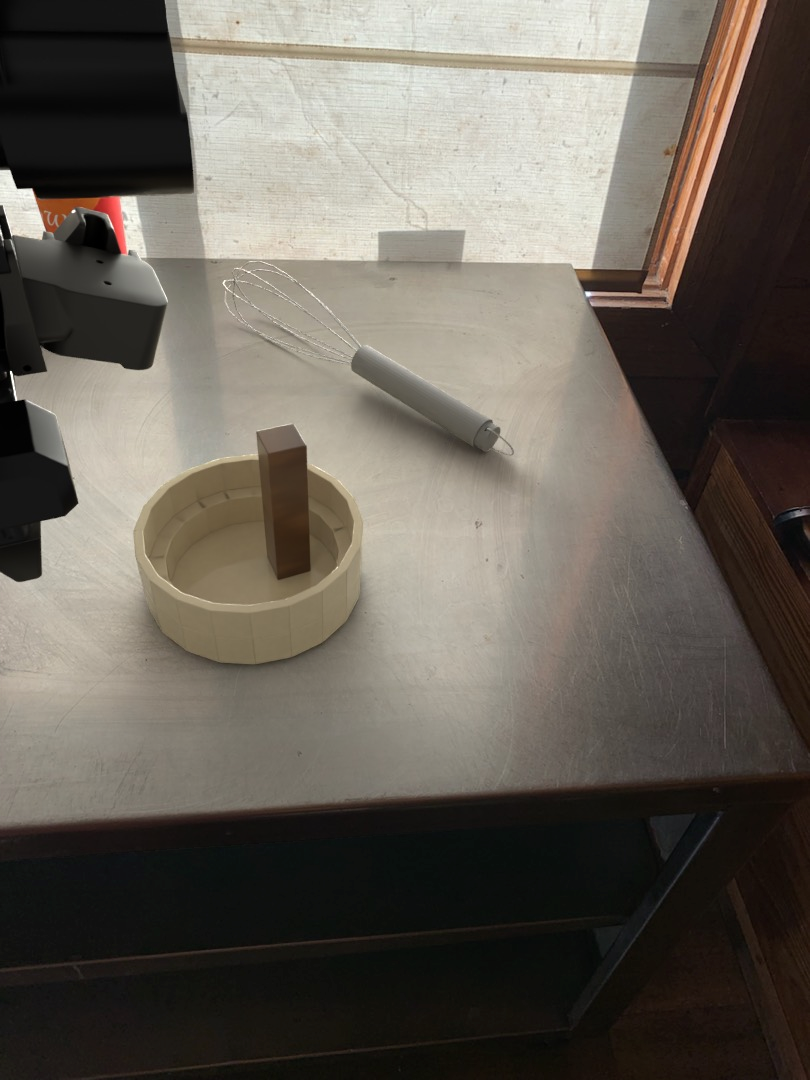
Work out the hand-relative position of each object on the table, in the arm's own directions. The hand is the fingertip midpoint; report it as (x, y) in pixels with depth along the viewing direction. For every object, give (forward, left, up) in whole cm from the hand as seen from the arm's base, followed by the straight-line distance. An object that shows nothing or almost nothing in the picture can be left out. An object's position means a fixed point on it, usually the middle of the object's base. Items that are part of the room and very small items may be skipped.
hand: (19, 513), depth 40 cm
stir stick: (+14, +5, -12) cm, 19 cm away
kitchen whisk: (+25, +27, -13) cm, 39 cm away
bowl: (+12, +4, -13) cm, 18 cm away
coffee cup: (+3, +45, -13) cm, 47 cm away
